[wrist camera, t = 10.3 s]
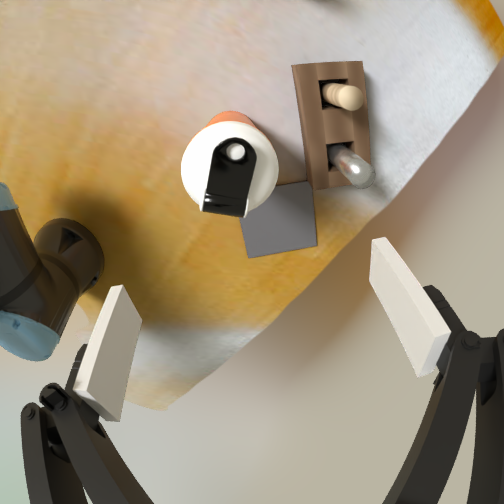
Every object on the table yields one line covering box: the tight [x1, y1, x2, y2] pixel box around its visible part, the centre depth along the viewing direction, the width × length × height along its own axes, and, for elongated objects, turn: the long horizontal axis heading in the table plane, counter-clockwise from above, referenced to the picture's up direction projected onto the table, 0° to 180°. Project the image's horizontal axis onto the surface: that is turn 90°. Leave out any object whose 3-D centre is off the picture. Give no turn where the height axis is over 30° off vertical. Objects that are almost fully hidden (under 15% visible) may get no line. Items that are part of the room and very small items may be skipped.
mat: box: [239, 181, 317, 258], centre depth 49 cm, size 12×12×1 cm
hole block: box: [291, 61, 371, 190], centre depth 39 cm, size 9×18×4 cm, turn 10°
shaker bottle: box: [181, 111, 279, 218], centre depth 33 cm, size 9×9×20 cm
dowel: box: [319, 82, 364, 111], centre depth 34 cm, size 3×3×10 cm
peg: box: [326, 142, 375, 189], centre depth 38 cm, size 3×3×12 cm
